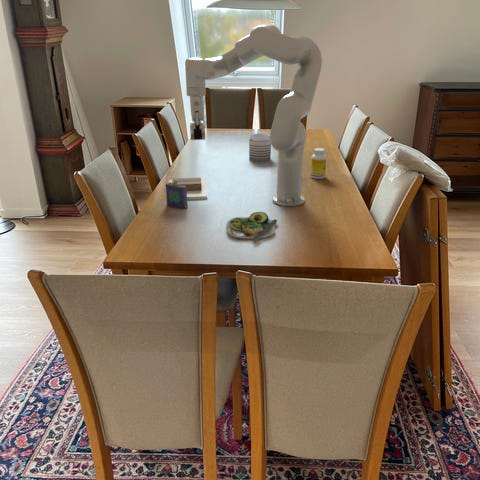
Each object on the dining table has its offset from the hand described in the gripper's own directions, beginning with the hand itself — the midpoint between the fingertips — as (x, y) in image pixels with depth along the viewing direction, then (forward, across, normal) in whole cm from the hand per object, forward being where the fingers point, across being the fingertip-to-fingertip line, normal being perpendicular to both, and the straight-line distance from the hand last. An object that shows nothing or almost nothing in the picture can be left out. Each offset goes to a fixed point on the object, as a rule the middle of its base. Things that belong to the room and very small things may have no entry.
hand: (198, 136), depth 191 cm
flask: (+22, -23, +9) cm, 33 cm away
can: (+22, +38, -31) cm, 53 cm away
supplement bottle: (+22, +8, -53) cm, 58 cm away
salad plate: (+22, -46, -18) cm, 54 cm away
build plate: (+21, -5, +5) cm, 23 cm away
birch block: (+1, 0, 0) cm, 1 cm away
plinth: (+20, -5, +5) cm, 21 cm away
